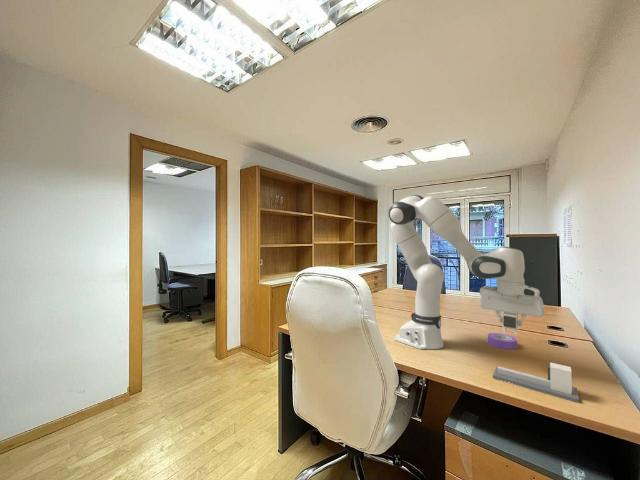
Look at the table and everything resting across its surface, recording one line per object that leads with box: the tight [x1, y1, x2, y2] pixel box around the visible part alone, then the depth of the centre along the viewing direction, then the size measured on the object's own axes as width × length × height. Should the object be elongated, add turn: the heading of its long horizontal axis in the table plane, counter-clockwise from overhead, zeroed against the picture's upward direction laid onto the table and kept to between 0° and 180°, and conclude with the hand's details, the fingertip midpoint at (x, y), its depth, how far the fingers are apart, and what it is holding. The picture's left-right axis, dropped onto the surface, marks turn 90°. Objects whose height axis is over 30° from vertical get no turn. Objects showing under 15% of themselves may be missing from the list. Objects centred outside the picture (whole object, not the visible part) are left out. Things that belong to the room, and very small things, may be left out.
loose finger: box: [502, 312, 519, 335], centre depth 102 cm, size 6×4×7 cm
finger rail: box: [492, 361, 580, 404], centre depth 90 cm, size 22×9×8 cm, turn 48°
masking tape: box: [487, 332, 518, 350], centre depth 125 cm, size 12×12×4 cm
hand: (510, 323), depth 102 cm, fingers closed on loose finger, 4 cm apart
